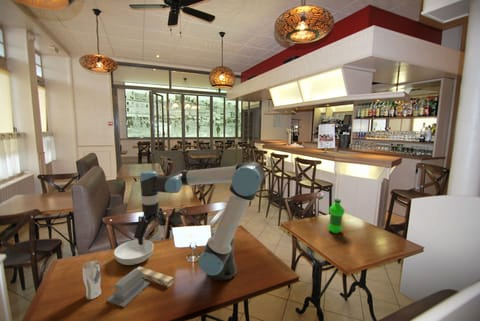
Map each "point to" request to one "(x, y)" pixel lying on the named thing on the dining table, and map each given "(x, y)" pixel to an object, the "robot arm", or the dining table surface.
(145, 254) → the serving bowl
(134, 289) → the slate ridge
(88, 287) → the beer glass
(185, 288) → the dining table surface
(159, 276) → the beech bar
